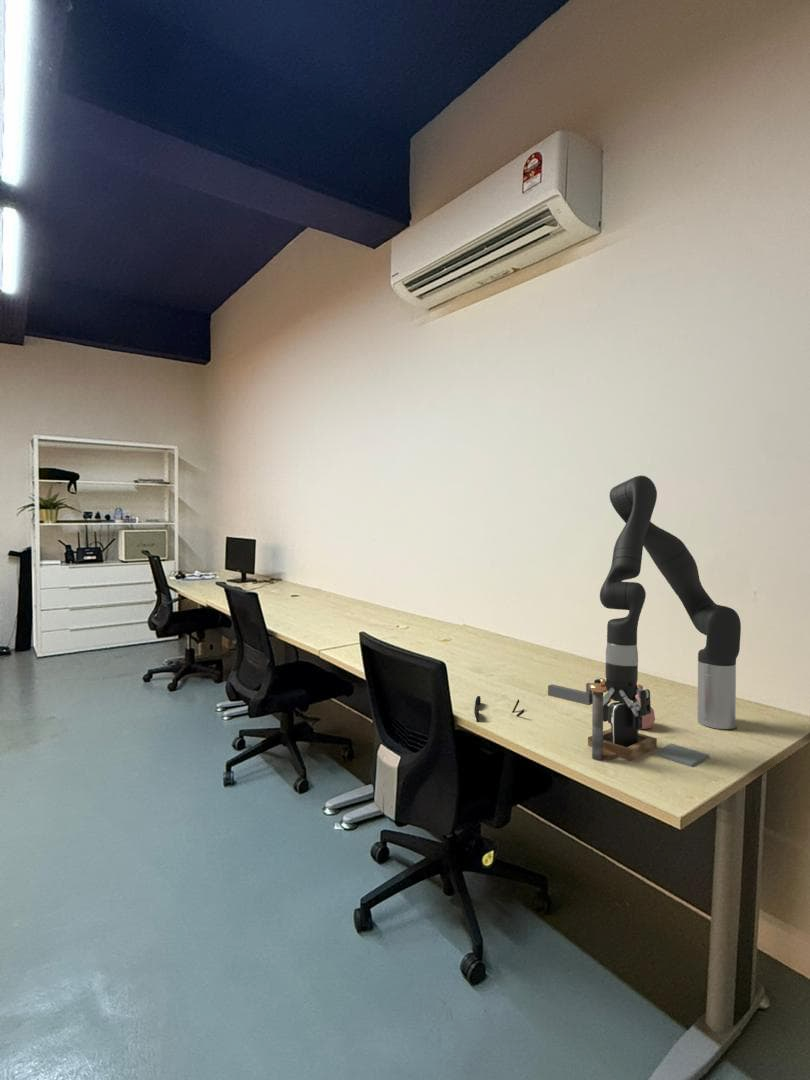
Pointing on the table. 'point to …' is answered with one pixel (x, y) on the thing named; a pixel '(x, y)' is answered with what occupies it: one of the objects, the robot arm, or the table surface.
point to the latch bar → (577, 692)
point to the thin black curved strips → (479, 704)
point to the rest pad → (681, 754)
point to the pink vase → (647, 719)
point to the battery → (622, 724)
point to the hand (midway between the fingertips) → (620, 725)
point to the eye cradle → (601, 738)
